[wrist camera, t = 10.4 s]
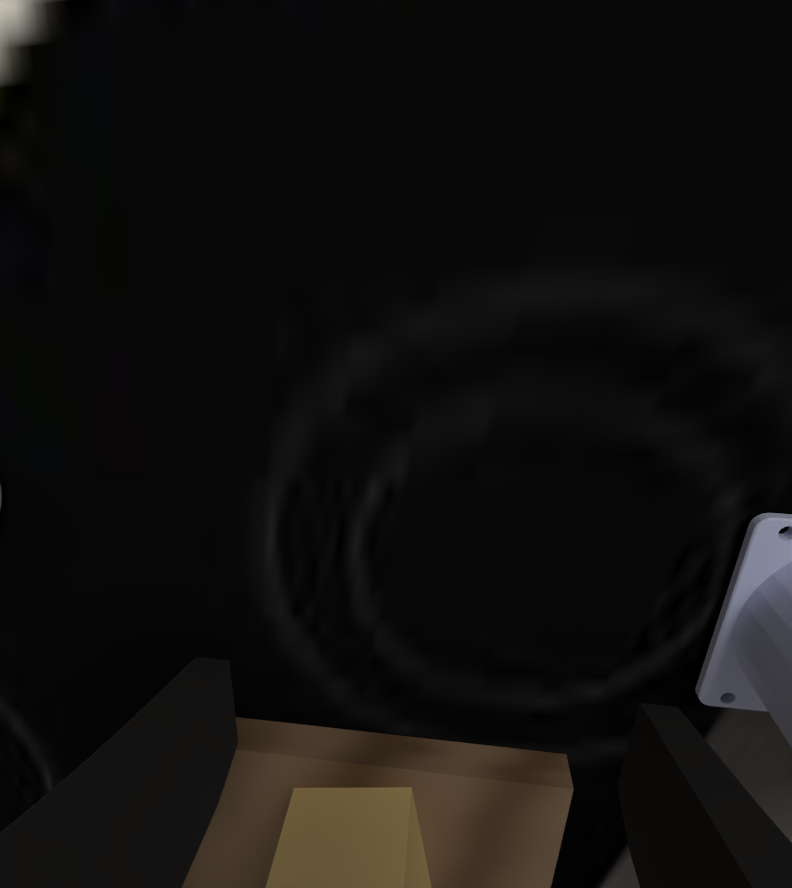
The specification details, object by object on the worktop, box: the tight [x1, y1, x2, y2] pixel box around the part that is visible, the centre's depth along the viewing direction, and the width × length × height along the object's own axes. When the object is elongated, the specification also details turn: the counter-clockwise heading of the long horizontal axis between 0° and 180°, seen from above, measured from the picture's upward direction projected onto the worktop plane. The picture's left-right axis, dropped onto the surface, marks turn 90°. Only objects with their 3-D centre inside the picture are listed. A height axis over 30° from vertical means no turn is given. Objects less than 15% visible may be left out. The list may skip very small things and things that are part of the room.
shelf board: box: [182, 717, 574, 888], centre depth 25 cm, size 18×12×2 cm, turn 88°
